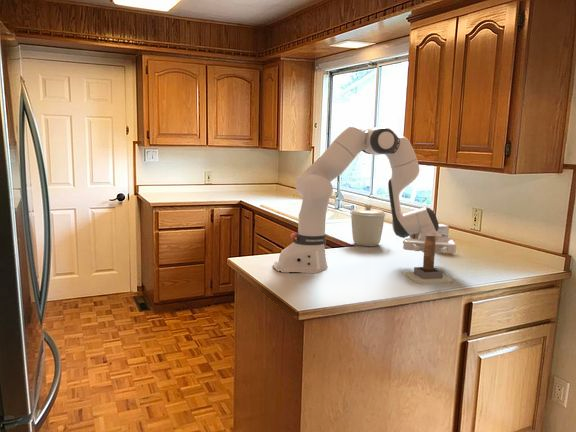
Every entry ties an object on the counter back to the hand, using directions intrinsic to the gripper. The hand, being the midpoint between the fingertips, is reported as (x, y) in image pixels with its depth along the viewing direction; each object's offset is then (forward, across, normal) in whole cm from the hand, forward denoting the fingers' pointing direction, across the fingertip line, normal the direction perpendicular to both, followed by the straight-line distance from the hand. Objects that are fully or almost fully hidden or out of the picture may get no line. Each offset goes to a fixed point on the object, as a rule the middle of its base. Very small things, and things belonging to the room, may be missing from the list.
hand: (429, 250), depth 187 cm
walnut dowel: (-1, 0, +10) cm, 11 cm away
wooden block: (-78, -4, +12) cm, 79 cm away
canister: (-54, -29, +12) cm, 63 cm away
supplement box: (-54, +5, +12) cm, 56 cm away
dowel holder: (-1, 0, +12) cm, 12 cm away
